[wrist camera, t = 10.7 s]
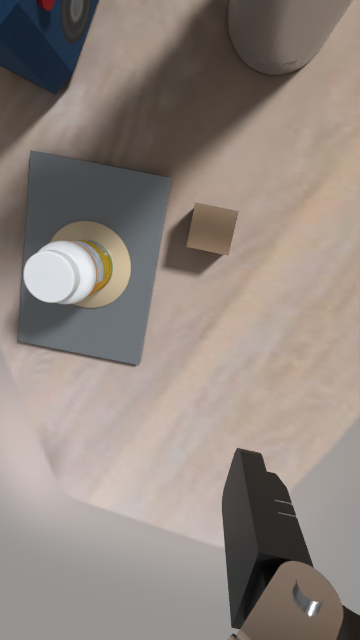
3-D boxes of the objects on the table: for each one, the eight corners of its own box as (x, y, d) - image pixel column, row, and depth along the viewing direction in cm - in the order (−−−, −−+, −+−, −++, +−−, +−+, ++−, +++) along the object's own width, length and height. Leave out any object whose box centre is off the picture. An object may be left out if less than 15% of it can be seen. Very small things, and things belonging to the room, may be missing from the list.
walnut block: (195, 206, 34) (195, 202, 30) (233, 214, 34) (238, 211, 30) (187, 245, 35) (186, 246, 31) (224, 253, 35) (228, 255, 31)
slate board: (35, 152, 33) (29, 149, 32) (171, 179, 33) (170, 177, 32) (22, 338, 38) (16, 341, 37) (140, 361, 38) (138, 366, 37)
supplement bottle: (68, 293, 35) (21, 314, 26) (59, 241, 34) (6, 244, 25) (117, 289, 35) (88, 309, 26) (110, 236, 34) (76, 238, 24)
